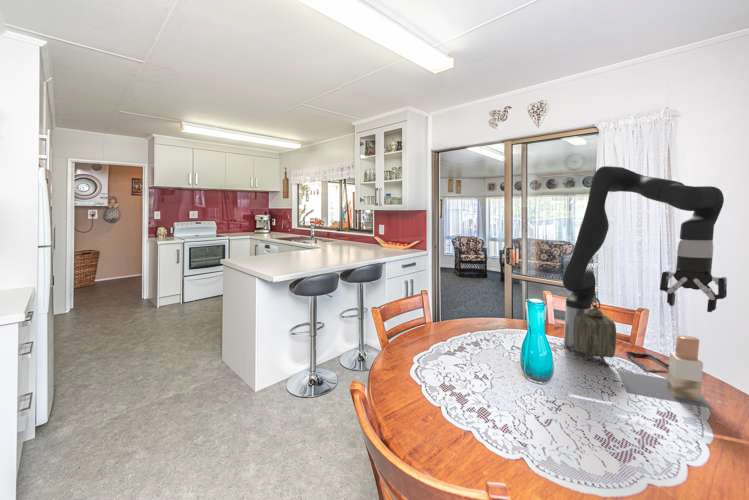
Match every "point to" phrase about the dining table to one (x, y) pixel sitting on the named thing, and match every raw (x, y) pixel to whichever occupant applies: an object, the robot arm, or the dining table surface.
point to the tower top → (685, 368)
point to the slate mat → (654, 388)
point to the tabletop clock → (595, 333)
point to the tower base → (684, 388)
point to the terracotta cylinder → (687, 347)
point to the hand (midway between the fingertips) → (690, 308)
